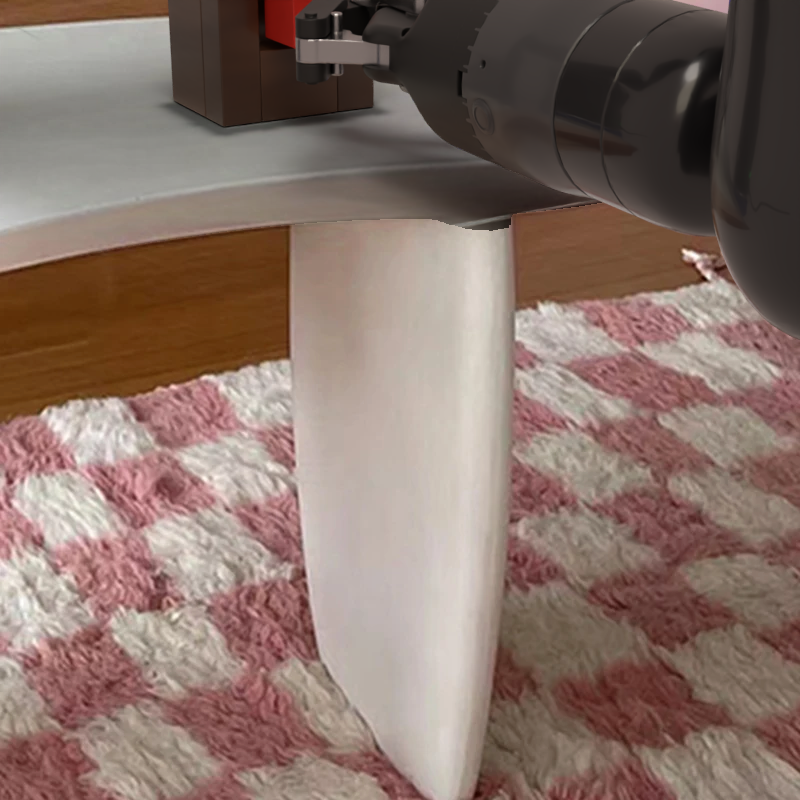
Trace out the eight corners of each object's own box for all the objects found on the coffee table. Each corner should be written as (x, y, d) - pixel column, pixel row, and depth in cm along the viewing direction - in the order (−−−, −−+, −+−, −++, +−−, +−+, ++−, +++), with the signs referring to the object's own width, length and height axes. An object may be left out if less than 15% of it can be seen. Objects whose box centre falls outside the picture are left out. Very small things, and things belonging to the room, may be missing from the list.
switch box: (223, 127, 75) (214, -74, 71) (172, 100, 79) (162, -90, 76) (374, 106, 78) (373, -86, 75) (317, 82, 83) (313, -100, 79)
